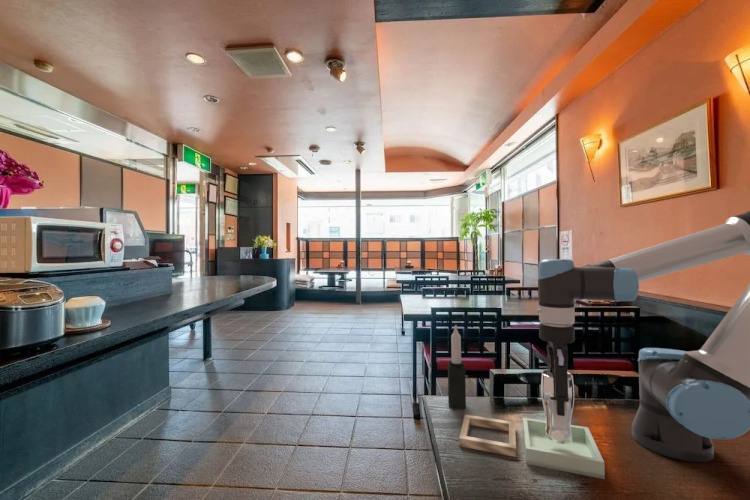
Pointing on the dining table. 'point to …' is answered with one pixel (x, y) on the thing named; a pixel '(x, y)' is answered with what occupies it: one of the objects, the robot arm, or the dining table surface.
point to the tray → (562, 450)
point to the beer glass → (547, 392)
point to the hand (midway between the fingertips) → (557, 420)
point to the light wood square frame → (488, 444)
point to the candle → (456, 374)
